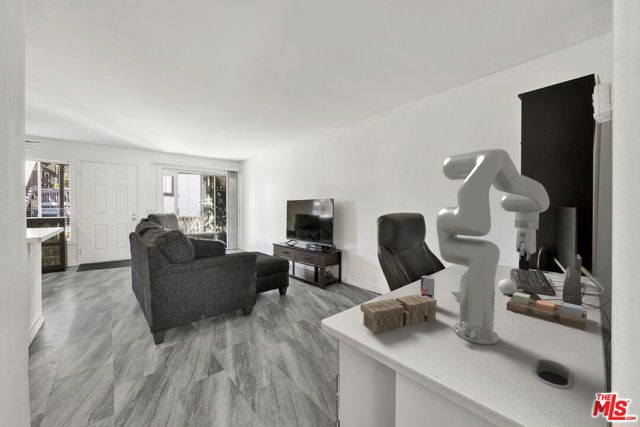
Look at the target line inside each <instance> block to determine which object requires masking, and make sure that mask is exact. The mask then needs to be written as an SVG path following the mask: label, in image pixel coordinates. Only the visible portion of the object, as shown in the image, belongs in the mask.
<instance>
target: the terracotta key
mask: <svg viewBox="0 0 640 427" xmlns="http://www.w3.org/2000/svg"><path fill="white" fill-rule="evenodd" d="M537 300H538V301H537V302H536V307H540V308H544V309H548V310H552V311H554V310H555V304H556V303H553V302H550V301H545V300H540V299H537Z"/></svg>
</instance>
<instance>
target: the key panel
mask: <svg viewBox="0 0 640 427" xmlns="http://www.w3.org/2000/svg"><path fill="white" fill-rule="evenodd" d="M512 300H513V296H512V297H511V298H510V299H509V300H508V301H507V302H506V311H510V312H514V313H517V314H521V315H525V316H528V317H531V318H537V319H540V320H543V321H547V322H552V323H554V324H558V325H563V326H566V327H569V328H573V329H578V330H580V331H586V325H587V320H588V319H587V316H588V314H587V313H588V310H584V309H583V314H582V318H581V317H577V316H573V315H569V314H565V313H562V308H563V305H560V304H556V303H555V310H554V311H552V310H548V309H544V308H540V307H536V302H537V301H538V300H539V299H535V298H534V299H533V298H530V303H529V304H528V305H527V304H523V303H519V302H515V301H512Z"/></svg>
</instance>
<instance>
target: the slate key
mask: <svg viewBox="0 0 640 427" xmlns="http://www.w3.org/2000/svg"><path fill="white" fill-rule="evenodd" d="M562 306H563V308H562V313H565V314H569V315H573V316H577V317H581V318H582V314H583V310H584V308H583V306H582V305H577V304H573V303H569V302H563V304H562Z"/></svg>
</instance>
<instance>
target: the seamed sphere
mask: <svg viewBox="0 0 640 427" xmlns="http://www.w3.org/2000/svg"><path fill="white" fill-rule="evenodd" d="M497 288H498V290H499V292H501V293H502V294H504V295H509V296H510V295H513V294H514V292H517V290H518V288H517V285H516V283H515V281H513V280H511V279H508V278H503V279H501V280H499V281H498V283H497ZM519 290H520V291H522V289H521V288H519ZM512 293H513V294H512Z"/></svg>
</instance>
